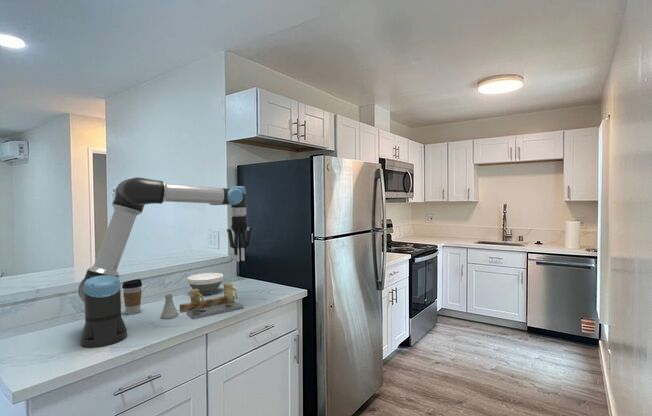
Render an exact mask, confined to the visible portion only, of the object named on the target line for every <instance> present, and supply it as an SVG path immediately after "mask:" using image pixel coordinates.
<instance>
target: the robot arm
mask: <svg viewBox="0 0 652 416" xmlns="http://www.w3.org/2000/svg"><path fill="white" fill-rule="evenodd" d="M114 194H115V195H114V199H113V200H112V201H113V202H112V207H113V213H112V216H111V219H110V220H109V223H108V226H107V229H106V231H105V235H104V237H103V240H102V243H101V245H100V247H99V251H98V253H97V256H96V258H95V260H94V264H93V265H92V266H90V267H88V268H87V270H86V273H85V275H84V278H83V279H82V280H81V281H80V283H79V285H78V289H77V290H78V295H79V298H80V299H81V301H82V302H83V303H84V321H85V322H84V326H83V329H82V332H81V335H80V338H79V345H80V346H81V347H84V348H98V347H105V346H109V345H113V344H116V343H119V342H122V341H123V340H124V339H126V338H127V337H128V329H127V326H126V324H125V321H124V319H123V317H122V296H121V292H122V291H121V288H122V284H121V280H120V278H119V277H120V274H119V271H118V269H119V266H120V262H121V260H122V257H123V254H124V252H125V248H126V246H127V243H128V240H129V237H130V235H131V232H132V230H133V226H134V224H135V221H136V219H137V216H139V215H141V214H142V213H143V210H144V208H145V205H151V204H152V205H153V204H159V205H161V204H163V203H164V202H167V203H168V202H170V203H188V204H189V203H192V204H208V205H210V206H229V205H230V206H231V226H230V228H227V229H226V232H227V234H228V241H229V247H230V248H232V249H233V254H234V256H235V261H236V262H240V260H241V261H242V262H245V261H246V260H245V255H246V254H247V247H250V241H251V232H252V230H253V228H252V227H249V226H248V225H247V193H246V187H245V186H243V185H242V186H241V185H237V186H235V185H234V186H230V188H225V187H215V186H214V187H213V186H202V185H201V186H200V185H187V184H173V183H166V182H164V181H163V180H157V179H150V178H145V177H140V176H139V177H132V178H128V179H124V180H122V181H121V182H120V183H119V184H118V185H117V186H116V187H115V193H114ZM233 232H234V235H233ZM245 232H246V234H245ZM233 236H234V237H233ZM239 236H240V240H241V241H240V242H241V248H238V246H239Z"/></svg>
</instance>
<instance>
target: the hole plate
mask: <svg viewBox="0 0 652 416" xmlns="http://www.w3.org/2000/svg"><path fill="white" fill-rule="evenodd" d="M244 306H245V305H243V304H241V303H239V302H237V301H234V302H231V303H226V304H221V305H216V306H211V307H206V308H200V309H195V310H190V311H186V315H187V316H188V317H189V318H190V319H191V320H196V319H198V318H203V317H209V316H213V315H218V314H223V313H229V312H234V311H237V310H242V309H244Z"/></svg>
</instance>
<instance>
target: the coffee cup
mask: <svg viewBox="0 0 652 416" xmlns="http://www.w3.org/2000/svg"><path fill="white" fill-rule="evenodd" d="M142 286H143V281H142V279H139V278H138V279H137V278H136V279H131V280H128V281H127V280H126V281H124V282H122V284H121V288H122V289H123V294H122V295H123V300H124V301H123V302H124V307H125V314H127V315H135V314H139V313H140V312H141V303H142V302H141V301H142V291H143V290H142Z"/></svg>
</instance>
